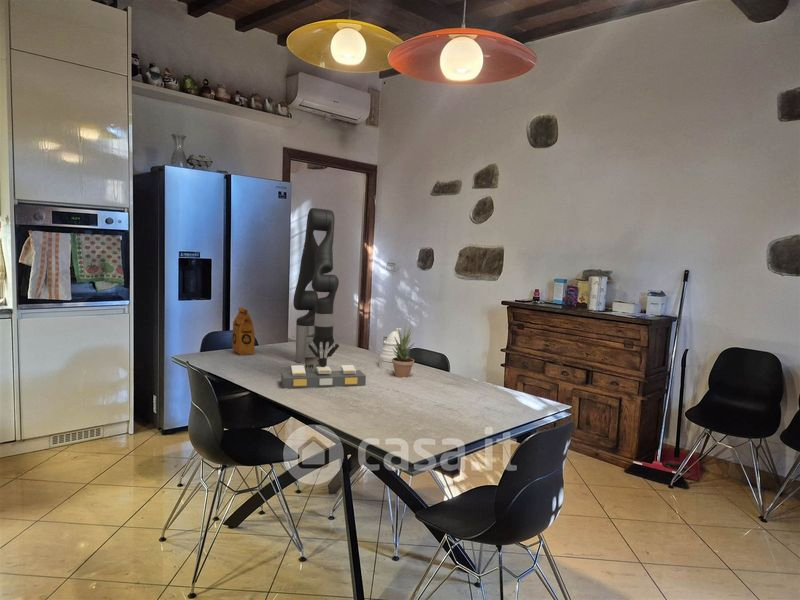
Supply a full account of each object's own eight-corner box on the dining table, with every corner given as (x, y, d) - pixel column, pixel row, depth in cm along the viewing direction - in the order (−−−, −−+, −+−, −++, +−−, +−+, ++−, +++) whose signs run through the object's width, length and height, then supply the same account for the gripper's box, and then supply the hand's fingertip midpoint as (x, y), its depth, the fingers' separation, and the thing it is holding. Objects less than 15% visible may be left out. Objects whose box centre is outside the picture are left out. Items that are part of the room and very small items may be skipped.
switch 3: (340, 368, 228) (340, 364, 228) (352, 367, 230) (353, 364, 230) (343, 374, 223) (344, 371, 222) (356, 373, 224) (356, 370, 224)
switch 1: (291, 368, 222) (291, 365, 222) (303, 367, 224) (303, 364, 223) (292, 376, 217) (292, 373, 216) (305, 376, 218) (306, 373, 218)
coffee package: (236, 356, 268) (236, 310, 266) (230, 351, 279) (231, 306, 276) (256, 354, 273) (257, 309, 270) (250, 349, 283) (251, 306, 281)
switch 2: (316, 369, 225) (316, 366, 225) (328, 369, 227) (328, 365, 227) (318, 374, 219) (318, 370, 219) (331, 373, 221) (331, 370, 221)
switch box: (281, 382, 224) (281, 372, 223) (359, 379, 233) (359, 370, 233) (284, 389, 214) (284, 378, 213) (365, 386, 223) (366, 376, 223)
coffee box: (318, 375, 238) (319, 337, 236) (304, 373, 239) (305, 336, 237) (325, 370, 246) (326, 334, 245) (311, 369, 248) (312, 333, 246)
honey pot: (402, 363, 268) (404, 326, 266) (410, 369, 255) (412, 330, 254) (376, 364, 264) (377, 326, 262) (382, 370, 252) (384, 330, 250)
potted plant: (415, 378, 240) (418, 321, 237) (394, 378, 237) (396, 320, 235) (409, 372, 249) (412, 317, 247) (388, 373, 247) (391, 317, 244)
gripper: (338, 322, 230) (337, 364, 231) (305, 323, 225) (304, 365, 227) (342, 325, 222) (340, 368, 224) (308, 326, 218) (307, 369, 220)
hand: (322, 367), depth 226 cm, fingers closed
